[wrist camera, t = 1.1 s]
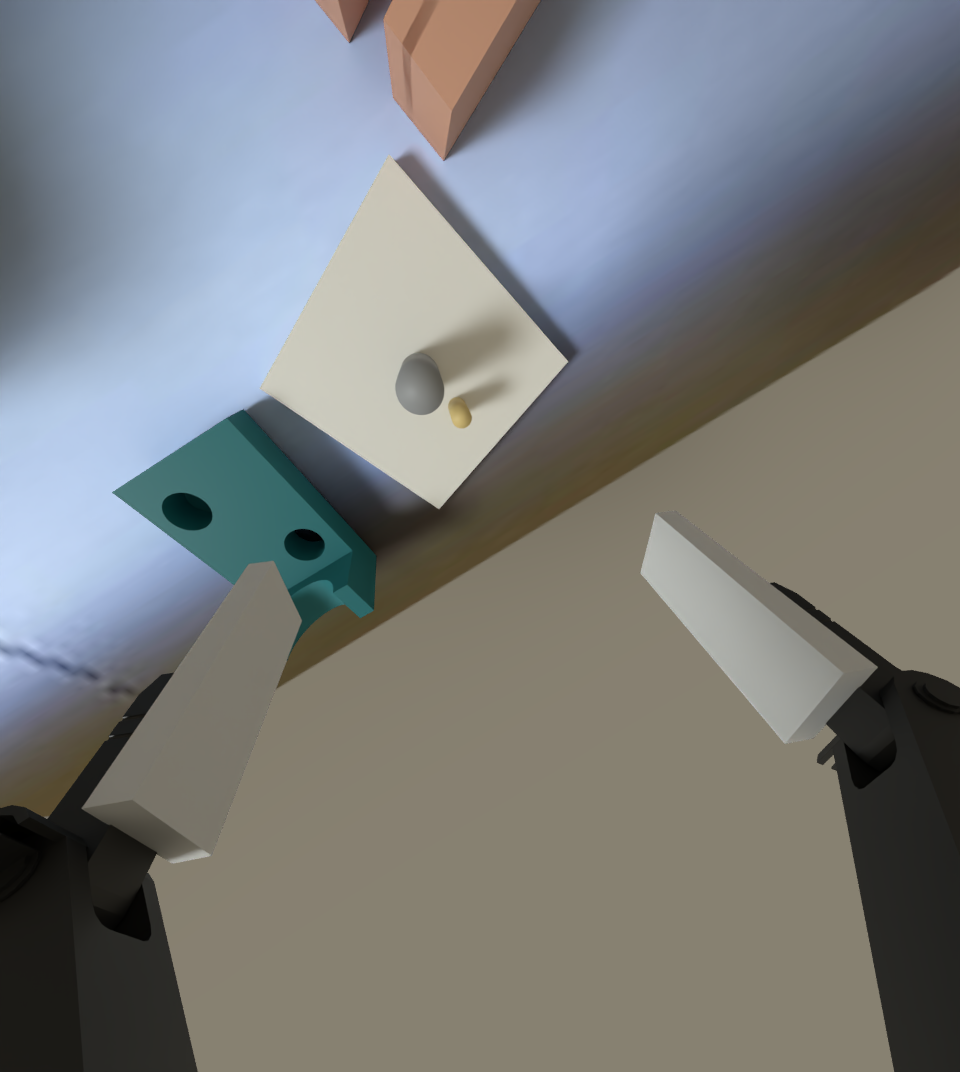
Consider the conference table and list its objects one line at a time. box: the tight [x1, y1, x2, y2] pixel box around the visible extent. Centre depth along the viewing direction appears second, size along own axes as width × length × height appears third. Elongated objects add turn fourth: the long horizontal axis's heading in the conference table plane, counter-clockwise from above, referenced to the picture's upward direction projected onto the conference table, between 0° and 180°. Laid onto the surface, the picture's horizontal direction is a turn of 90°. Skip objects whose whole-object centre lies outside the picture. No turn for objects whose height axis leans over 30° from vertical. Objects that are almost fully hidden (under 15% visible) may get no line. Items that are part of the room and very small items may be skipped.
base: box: [260, 155, 568, 509], centre depth 27 cm, size 18×18×8 cm
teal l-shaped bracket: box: [112, 409, 376, 660], centre depth 31 cm, size 18×11×10 cm, turn 28°
